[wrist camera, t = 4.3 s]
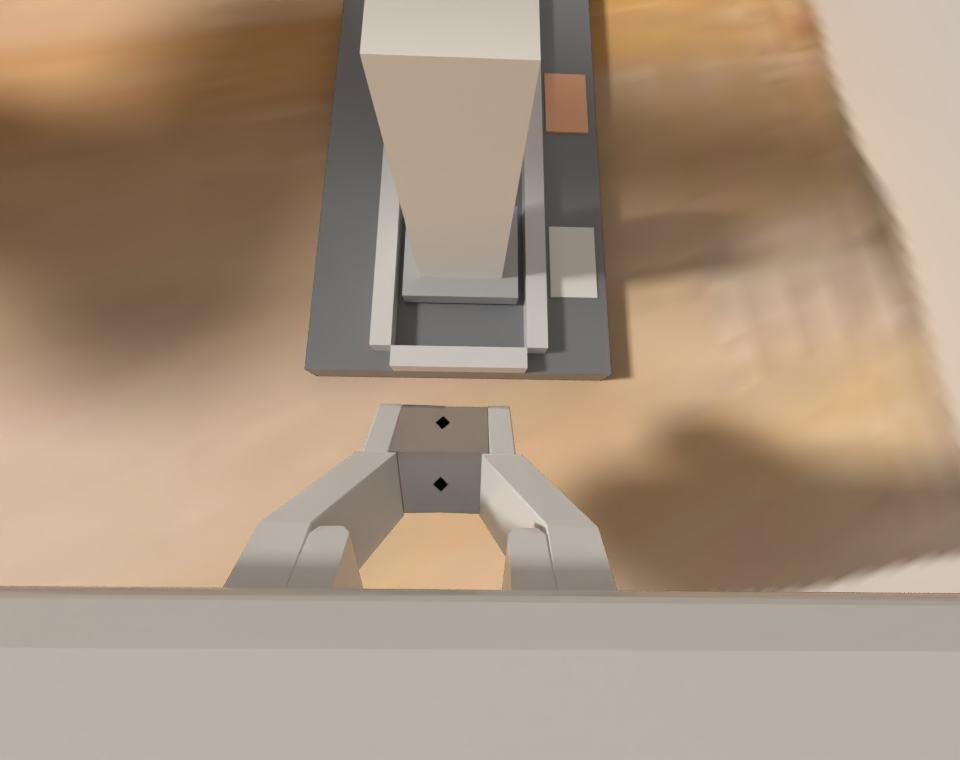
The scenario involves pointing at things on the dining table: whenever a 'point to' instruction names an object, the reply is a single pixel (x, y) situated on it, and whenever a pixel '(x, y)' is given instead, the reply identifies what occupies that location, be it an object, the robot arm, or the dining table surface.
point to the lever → (455, 136)
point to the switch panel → (540, 227)
